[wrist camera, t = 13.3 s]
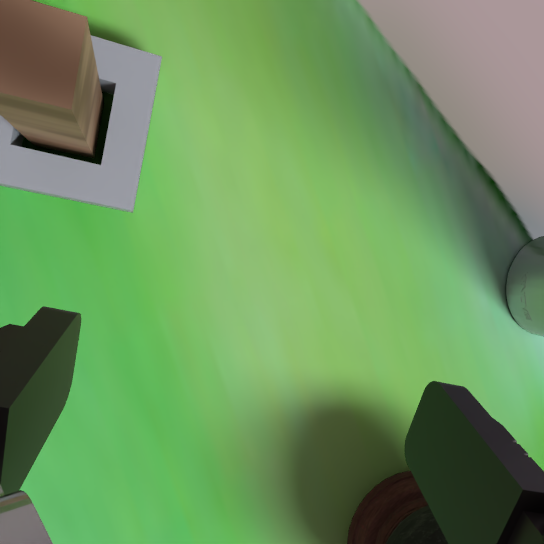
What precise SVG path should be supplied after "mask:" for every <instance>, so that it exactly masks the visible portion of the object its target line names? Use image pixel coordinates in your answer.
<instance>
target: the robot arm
mask: <svg viewBox="0 0 544 544" xmlns="http://www.w3.org/2000/svg"><path fill="white" fill-rule="evenodd" d="M506 296H507V301H508V306H509V309H510V311H511V314H512V316H513V317H514V319H515V320H516V322H517V323H518V324H519V325H520V326H521V327H522V328H523V329H525V330H526V331H528V332H530V333H532V334H536V335H540V336H544V236H543V237H539V238H537V239H534V240H532V241H531V242H529V243H528V244H527V245H525V246H524V247H523V248H522V249H521V251H520V252H519V253H518V254H517V256H516V257H515V259H514V261H513V262H512V265H511V267H510V270H509V273H508V278H507V284H506ZM80 326H81V314H80V313H76V312H70V311H65V310H60V309H55V308H49V307H42V308H41V309H40V310H39V311H38V312H37V313H36V314H35V315H34V316H33V317H32V318H31V320H30V321H29V322H28V323H27V324H26V325H25V326H24V327H23V326H18V325H12V324H9V325H6V326H4V327H1V328H0V544H53V543H52V541H51V539H50V537H49V535H48V533H47V531H46V529H45V527H44V525H43V523H42V521H41V519H40V517H39V515H38V513H37V511H36V509H35V507H34V505H33V503H32V501H31V499H30V498H29V496H28V495H27V494H26V493H25V492H24V491H21V490H20V491H19V489H20V487H21V486H22V484H23V482H24V480H25V478H26V476H27V475H28V473H29V471H30V469H31V467H32V465H33V464H34V462H35V460H36V458H37V456H38V454H39V452H40V451H41V449H42V447H43V445H44V443H45V441H46V440H47V438H48V436H49V434H50V432H51V430H52V429H53V427H54V425H55V423H56V421H57V419H58V417H59V416H60V414H61V412H62V410H63V408H64V406H65V404H66V401H67V398H68V395H69V392H70V388H71V384H72V378H73V372H74V366H75V359H76V353H77V346H78V340H79V333H80ZM516 442H517V441H516V440H515V439H514V438H513V437H512V435H511V434H510V433H509V432H508V431H507V430H506V429H505V428H504V426H503V425H501V424H500V423H499V422H497V421H496V420H495V419H493V418H492V417H491V416H490V415H489V414H488V412H487V411H486V410H485V409H484V408H483V407H482V406H481V404H480V403H479V402H478V401H477V400H476V399H475V398H474V396H473V395H472V394H471V393H470V392H469V391H468V390H467V389H466V388H465V387H463V386H457V385H452V384H447V383H442V382H436V381H432V382H430V383H429V384H428V385H427V386H426V388H425V390H424V392H423V395H422V397H421V400H420V403H419V405H418V408H417V410H416V413H415V415H414V418H413V421H412V423H411V426H410V428H409V431H408V434H407V436H406V440H405V458H406V462H407V465H408V467H409V469H410V471H411V472H412V474H413V476H414V478H415V480H416V482H417V484H418V486H419V488H420V490H421V492H422V494H423V496H424V498H425V500H426V501H427V503H428V505H429V507H430V509H431V511H432V513H433V515H434V517H435V519H436V521H437V523H438V525H439V527H440V528H441V530H442V532H443V534H444V536H445V538H446V540H447V542H448V544H544V472H543V470H542V469H541V468H540V467H539V466H538V465H537V464H536V463H535V461H534V460H533V459H532V458H530V457H528V453H527V452H526V451H525V450H524V449H523V448H522V447H521V446H520V444H516Z"/></svg>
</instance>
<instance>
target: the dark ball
mask: <svg viewBox="0 0 544 544" xmlns="http://www.w3.org/2000/svg"><path fill="white" fill-rule="evenodd" d="M347 544H448V542H447V540H446V538H445V536H444V534H443V532H442V530H441V528H440V527H439V525H438V523H437V521H436V519H435V517H434V515H433V513H432V511H431V509H430V507H429V505H428V503H427V501H426V500H425V498H424V496H423V494H422V492H421V490H420V488H419V486H418V484H417V482H416V480H415V478H414V476H413V474H412V472H411V471H407V472H402V473H398V474H396V475H393V476H391V477H389V478H387V479H385V480H384V481H382V482H381V483H379V484H378V485H377V486H375V487H374V488H373V489H372V490H371V491H370V492H369V493H368V494H367V495H366V496H365V498H364V499H363V501H362V502H361V503H360V505H359V506H358V508H357V510H356V512H355V514H354V516H353V518H352V522H351V525H350V528H349V533H348V541H347Z"/></svg>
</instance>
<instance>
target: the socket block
mask: <svg viewBox="0 0 544 544" xmlns="http://www.w3.org/2000/svg"><path fill="white" fill-rule="evenodd" d="M91 40H92V45H93V50H94V55H95V60H96V65H97V71H98V76H99V81H100V86H101V91H102V92H105V93H108V94H112V95H114V98H113V103H112V109H111V114H110V119H109V125H108V130H107V136H106V141H105V147H104V152H103V157H102V163H101V165H98V164H94V163H89V162H85V161H81V160H76V159H72V158H67V157H63V156H59V155H54V154H50V153H46V152H41V151H37V150H32V149H28V148H24V147H22V144H23V138H24V136H23V135H22V134H21V133H20V132H19V131H18V130H17V129H15V128H14V127H13V126H12V125H11V124H10V123H9V122H8V121H7V120H6V119H5V118H3V117H2V116H1V115H0V186H5V187H10V188H15V189H20V190H25V191H30V192H34V193H39V194H44V195H49V196H54V197H59V198H64V199H69V200H73V201H78V202H83V203H88V204H93V205H98V206H103V207H107V208H112V209H117V210H122V211H127V212H132V213H133V209H134V204H135V198H136V193H137V188H138V182H139V177H140V172H141V166H142V161H143V156H144V150H145V145H146V139H147V134H148V129H149V123H150V118H151V113H152V107H153V102H154V97H155V91H156V86H157V80H158V75H159V70H160V64H161V59H162V56H158V55H155V54H152V53H148V52H145V51H142V50H138V49H135V48H132V47H128V46H125V45H122V44H118V43H115V42H112V41H108V40H105V39H102V38H98V37H95V36H92V35H91Z"/></svg>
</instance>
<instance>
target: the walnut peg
mask: <svg viewBox="0 0 544 544" xmlns="http://www.w3.org/2000/svg"><path fill="white" fill-rule="evenodd" d="M103 106H104V101H103V96H102V91H101V86H100V81H99V76H98V71H97V65H96V60H95V55H94V50H93V45H92V40H91V35H90V30H89V25H88V20H87V17H86V16H82V15H79V14H76V13H72V12H69V11H65V10H62V9H59V8H55V7H52V6H49V5H45V4H42V3H39V2H35V1H32V0H0V115H1V116H2V117H3V118H5V119H6V120H7V121H8V122H9V123H10V124H11V125H12V126H13V127H14V128H15V129H17V130H18V131H19V132H20V133H21V134H22V135H23V136H24V137H25V138H26V139H28V140H29V141H30V142H31V143H32V144H33V145H34V146H38V147H43V148H48V149H52V150H57V151H61V152H66V153H70V154H75V155H80V156H84V157H89V158H93V159H95V153H96V148H97V142H98V136H99V130H100V124H101V118H102V112H103Z"/></svg>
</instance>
